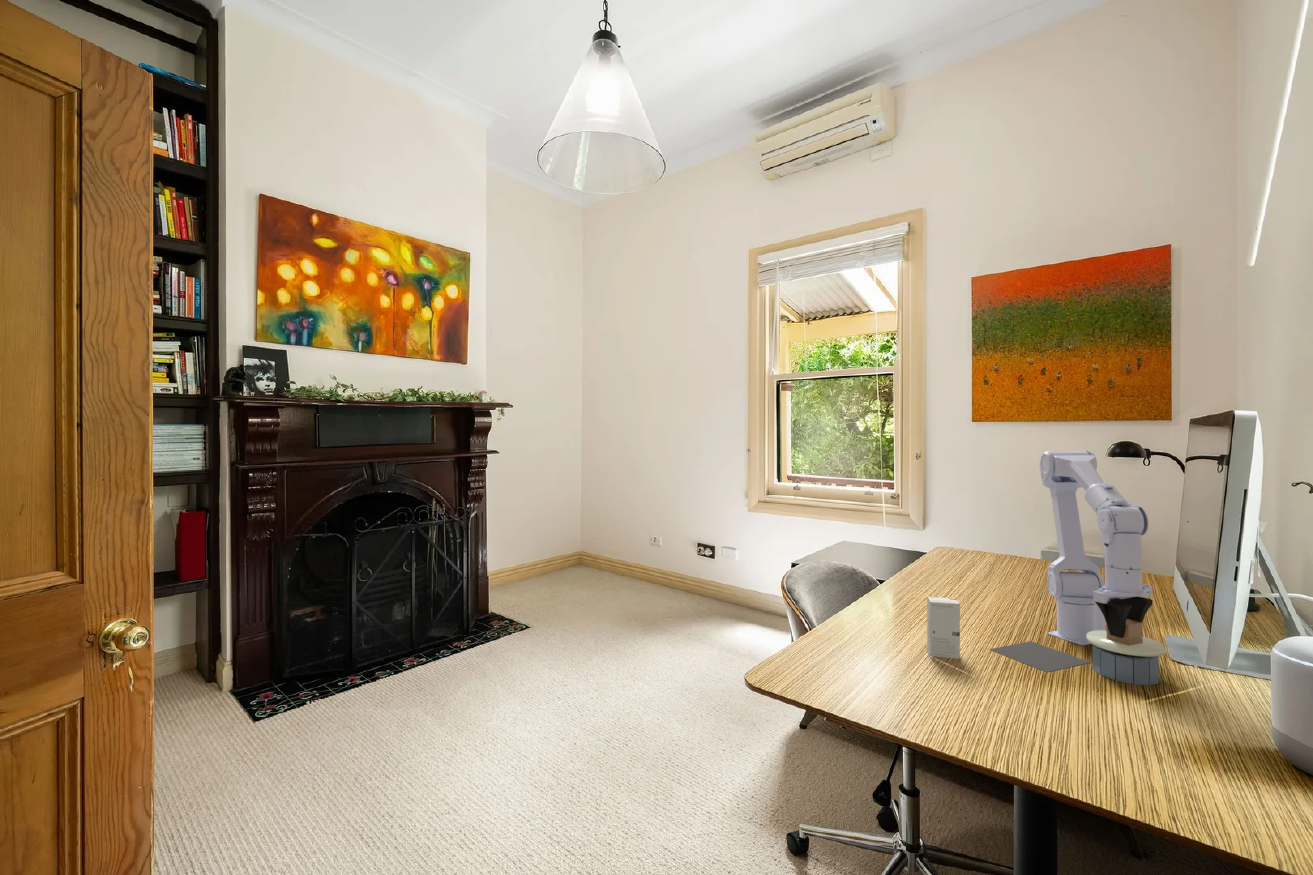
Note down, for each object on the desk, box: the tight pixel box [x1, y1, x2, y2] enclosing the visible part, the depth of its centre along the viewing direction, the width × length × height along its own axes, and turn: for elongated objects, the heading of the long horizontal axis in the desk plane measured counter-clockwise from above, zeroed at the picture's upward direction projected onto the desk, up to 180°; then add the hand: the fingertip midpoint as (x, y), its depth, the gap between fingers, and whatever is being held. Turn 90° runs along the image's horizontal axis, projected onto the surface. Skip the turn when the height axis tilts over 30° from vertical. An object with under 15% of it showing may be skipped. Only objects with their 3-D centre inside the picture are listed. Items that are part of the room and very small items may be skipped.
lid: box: [1086, 619, 1166, 657], centre depth 111 cm, size 12×12×5 cm
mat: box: [988, 640, 1092, 673], centre depth 120 cm, size 13×13×1 cm
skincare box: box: [926, 596, 961, 660], centre depth 122 cm, size 6×4×12 cm
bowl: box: [1091, 644, 1160, 686], centre depth 111 cm, size 10×10×5 cm
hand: (1124, 634), depth 111 cm, fingers closed on lid, 4 cm apart
